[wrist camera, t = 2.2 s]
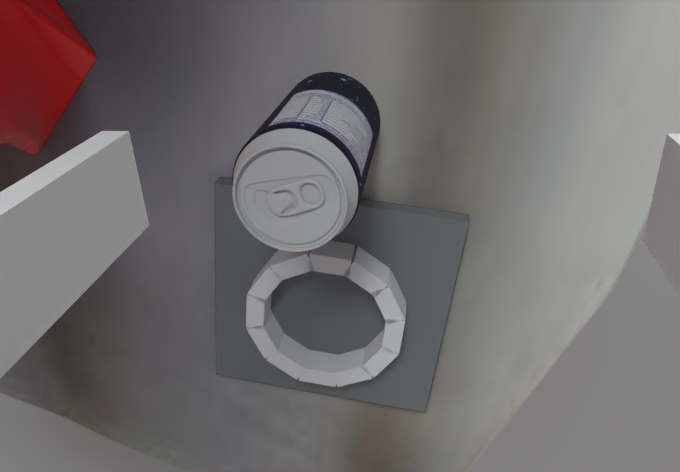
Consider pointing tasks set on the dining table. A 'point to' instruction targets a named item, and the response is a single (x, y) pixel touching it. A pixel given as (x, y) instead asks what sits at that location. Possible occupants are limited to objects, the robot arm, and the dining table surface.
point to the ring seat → (339, 303)
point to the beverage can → (307, 164)
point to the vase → (37, 69)
